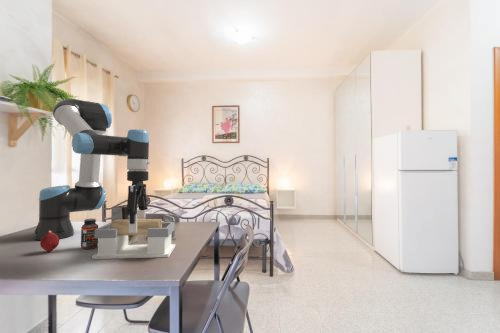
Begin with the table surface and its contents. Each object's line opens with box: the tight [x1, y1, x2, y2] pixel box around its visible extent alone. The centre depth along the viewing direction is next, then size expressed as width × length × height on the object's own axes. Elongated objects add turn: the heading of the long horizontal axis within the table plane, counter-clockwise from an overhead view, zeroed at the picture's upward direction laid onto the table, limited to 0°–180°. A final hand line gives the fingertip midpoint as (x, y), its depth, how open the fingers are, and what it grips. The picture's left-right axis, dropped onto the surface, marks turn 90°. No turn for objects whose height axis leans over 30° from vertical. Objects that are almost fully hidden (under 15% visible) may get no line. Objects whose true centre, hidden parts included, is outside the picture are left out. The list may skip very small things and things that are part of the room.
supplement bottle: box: [80, 218, 99, 250], centre depth 110 cm, size 6×6×11 cm
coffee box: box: [110, 204, 138, 245], centre depth 115 cm, size 9×6×16 cm
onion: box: [39, 231, 60, 253], centre depth 103 cm, size 6×6×8 cm
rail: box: [110, 218, 163, 236], centre depth 104 cm, size 5×17×5 cm, turn 95°
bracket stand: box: [91, 221, 176, 260], centre depth 103 cm, size 14×26×10 cm, turn 95°
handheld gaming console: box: [146, 214, 177, 241], centre depth 125 cm, size 13×9×10 cm
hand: (137, 229), depth 104 cm, fingers open, 9 cm apart
